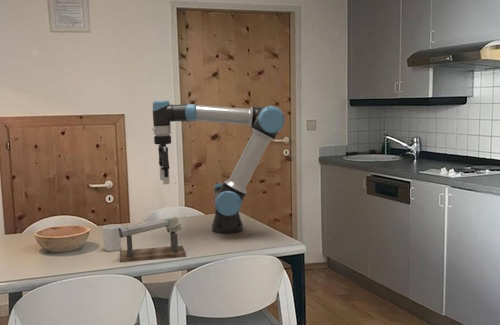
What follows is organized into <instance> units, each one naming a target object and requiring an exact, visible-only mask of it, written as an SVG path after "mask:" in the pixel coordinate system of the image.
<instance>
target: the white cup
mask: <svg viewBox="0 0 500 325" xmlns="http://www.w3.org/2000/svg"><path fill="white" fill-rule="evenodd" d="M119 228H122V225H121V224H119V223H118V224H117V223H116V224H114V223H113V224H106V225H103V226H102V230H101V231H102V239H103V246H104V247H103V248H104V251H106V252H115V251H120V250H121V248H122V238H121V237H120V234H119Z"/></svg>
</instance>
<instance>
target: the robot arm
mask: <svg viewBox="0 0 500 325" xmlns="http://www.w3.org/2000/svg"><path fill="white" fill-rule="evenodd" d="M152 122H153V128H152V131H153V134H154V137H153V141H154V142H153V143H154V144H155V145H158V165H159V180H160V181H162V184H163V185H170V163H169V162H170V161H169V148H168V146H167V145H171V144H172V136H171V134H172V126H171V125H172V124H171V122H207V123H221V124H233V125H247V126H248V127H250V128H251V131H252V134H251V135H250V138H249V140H248V141H247V143H246V146H245V147H244V149H243V152H242V153H241V155H240V158H239V159H238V161H237V163H236V165H235V167H234V169H233V171H232V173H231V174H230V176H229V178H228V179H227V180H224V181H223V182H220V183H215V184H214V187H213V191H214V217H213V221H212V224H211V230H212V232H214V233H218V234H234V233H239V232H242V231H243V230H244V224H243V221H242V219H241V216H240V210H241V208H242V203H243V202H244V199H245V197H246V195H247V189H246V188H247V186H248V183H249V182H250V180H251V179H252V176H253V174H254V173H255V171H256V169H257V167H258V165H259V163H260V161H261V159H262V157H263V155H264V153H265V151H266V149H267V147H268V145H269V144H270V142H272V141H275V140H276V137H277V135H278V134H279V131H281V130H282V129H283V127H284V125H285V115H284V112H283V111H282V110H281V109H280V108H279V107H277V106H274V105H266V106H251V107H249V108H243V107H229V106H215V105H202V104H200V105H199V104H195V103H193V104H192V103H182V104H171V103H170V101H169V100H154V101H153V102H152Z"/></svg>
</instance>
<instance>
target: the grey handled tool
mask: <svg viewBox="0 0 500 325" xmlns="http://www.w3.org/2000/svg"><path fill="white" fill-rule="evenodd" d="M181 225H182V223H181V222H180V221H179V219H178V217H177V216H176V215H175V216H174V215H173V216H169V217H167V218H166V219H165V218H164V219H160V220H159V219H158V220H154V221H148V222H144V223H137V224H133V225H128V224H127V225H126V226H121V228H119V234H120V237H121V239H122V238H125V237H126V238H127V236H129V237H130V236H131V235H132V236H134V235H138V234H141V233H146V232H150V231H154V230H158V229H162V228H165V229H166V231H167V233H169V234H170V233H171V232H172V231H174V232H175V233H176V232H178V231H181Z"/></svg>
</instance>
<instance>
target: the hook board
mask: <svg viewBox="0 0 500 325" xmlns="http://www.w3.org/2000/svg"><path fill="white" fill-rule="evenodd" d="M169 234H170V235H169V236H170V246H159V247H148V248H147V247H146V248H136V249H133V237H132V236H133V235H131V236H130V237H129V236H127V237H126V249H123V250H121V249H119V263H126V262H128V263H129V262H138V261H151V260H160V259H173V258H183V257H187V253H186V250H185V248H184V246H183V245H178V233H176V232H174V231H172V232H171V233H170V232H169Z"/></svg>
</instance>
